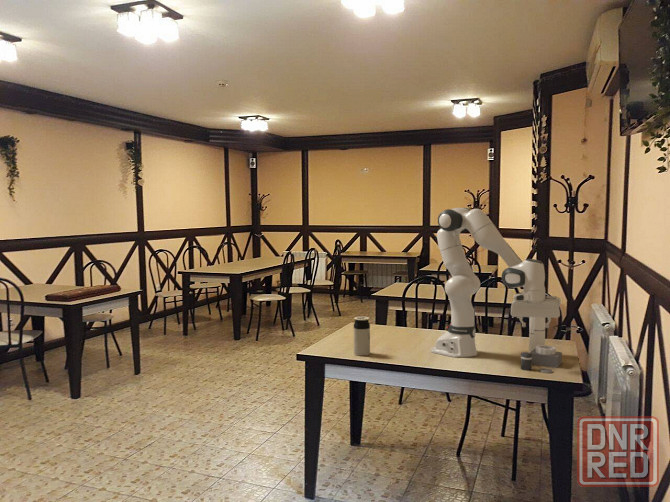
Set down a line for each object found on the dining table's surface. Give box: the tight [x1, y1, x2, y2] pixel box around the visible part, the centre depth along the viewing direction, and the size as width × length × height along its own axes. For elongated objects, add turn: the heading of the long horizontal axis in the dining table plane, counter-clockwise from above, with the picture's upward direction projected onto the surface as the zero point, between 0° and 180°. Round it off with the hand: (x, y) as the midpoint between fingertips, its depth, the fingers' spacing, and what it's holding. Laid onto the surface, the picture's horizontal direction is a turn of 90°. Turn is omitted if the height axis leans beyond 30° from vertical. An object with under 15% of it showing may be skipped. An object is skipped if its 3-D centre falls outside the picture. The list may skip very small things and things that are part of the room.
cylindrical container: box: [528, 317, 546, 353], centre depth 247 cm, size 7×7×25 cm
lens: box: [520, 351, 533, 371], centre depth 225 cm, size 4×4×7 cm
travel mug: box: [353, 316, 371, 357], centre depth 252 cm, size 8×8×18 cm
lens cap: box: [539, 367, 553, 374], centre depth 221 cm, size 5×5×1 cm
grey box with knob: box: [530, 344, 563, 369], centre depth 233 cm, size 12×9×8 cm
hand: (535, 327), depth 225 cm, fingers open, 8 cm apart
